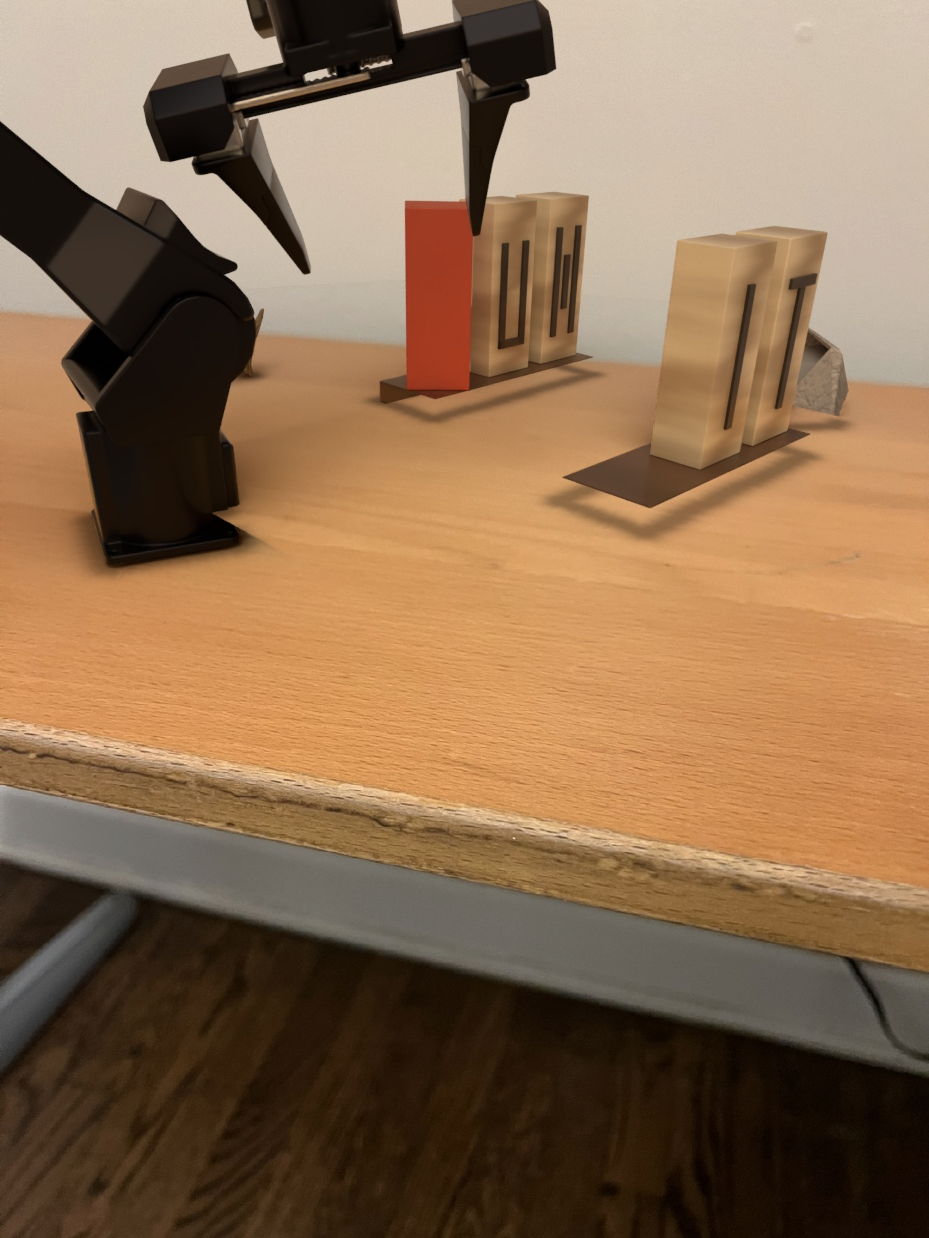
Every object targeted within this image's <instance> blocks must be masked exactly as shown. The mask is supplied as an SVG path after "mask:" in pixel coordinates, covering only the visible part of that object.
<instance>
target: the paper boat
mask: <svg viewBox="0 0 929 1238" xmlns="http://www.w3.org/2000/svg"><path fill="white" fill-rule="evenodd" d="M848 393H849V384H848V378H847V372H846V366H845V361H844V355H843V353H842V351H841V349H840V347H838V346H837V345H835V344H834V343H833V342H831V341H829V340H828V339H826V338H825V337H823V336H822V335H821V334H819V333H818V332H816V331H815V330H814V329H812V328H811V327H810V326H809V327H808V332H807V337H806V342H805V347H804V351H803V356H802V361H801V366H800V371H799V376H798V381H797V386H796V391H795V395H794V400H793V405H792V407H798V408H801V409H805V410H809V411H814V412H817V413H822V414H826V415H830V416H834V417H839V416H840V413H841V410H842V408H843V406H844V403H845V400H846V398H847V396H848Z"/></svg>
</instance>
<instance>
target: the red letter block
mask: <svg viewBox="0 0 929 1238" xmlns="http://www.w3.org/2000/svg"><path fill="white" fill-rule="evenodd" d="M473 242H474V236H473V235H472V232H471V228H470V223H469V217H468V212H467V206H466V202H459V201H456V200H450V201H449V200H444V201H442V200H405V201H404V259H405V260H404V261H405V266H404V268H405V269H404V271H405V355H406V359H405V361H406V364H405V365H406V366H405V367H406V371H405V372H406V373H405V374H406V375H407V390H469V379H470V364H471V362H470V337H471V306H472V282H473ZM469 391H470V390H469Z"/></svg>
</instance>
